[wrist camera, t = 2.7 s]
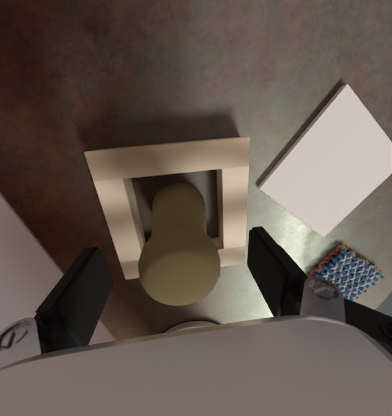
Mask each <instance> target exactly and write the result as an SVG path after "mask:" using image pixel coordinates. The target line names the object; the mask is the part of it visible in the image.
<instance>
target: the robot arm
mask: <svg viewBox="0 0 392 416" xmlns="http://www.w3.org/2000/svg"><path fill="white" fill-rule="evenodd" d="M247 264H248V268H249V270H250V272H251V274H252V276H253V278H254V280H255V281H256V283H257V285H258V287H259V289H260V291H261V293H262V295H263V297H264V299H265V301H266V303H267V305H268V307H269V309H270V310H271V312H272V314H273V316H274V317H270V318H262V319H255V320H247V321H241V322H234V323H227V324H220V325H217V324H215V323H211V322H207V321H191V322H185V323H182V324H178V325H176V326H174V327H172V328H170V329H169V330H167V331H166V332H165V333H162V334H155V335H149V336H142V337H136V338H130V339H124V340H118V341H112V342H105V343H100V344H93V345H88V344H89V342H90V340H91V337H92V335H93V332H94V330H95V328H96V325H97V323H98V320H99V318H100V315H101V313H102V310H103V308H104V306H105V303H106V301H107V298H108V296H109V293H110V291H111V289H112V286H113V280H112V278H111V275H110V273H109V270H108V268H107V265H106V262H105V260H104V257H103V255H102V252H101V250H100V249H98V248H97V247H89V248H85V249H84V250H83V251H82V252H81V254H80V255H79V256H78V257H77V259H76V260H75V261H74V263H73V264H72V265H71V266H70V268H69V269H68V270H67V272H66V273H65V274H64V275H63V277H62V278H61V279H60V281H59V282H58V283H57V285H56V286H55V287H54V288H53V290H52V291H51V292H50V294H49V295H48V296H47V297H46V299H45V300H44V301H43V302H42V304H41V305H40V306H39V308H38V309H37V310H36V313H37V314H36V316H35V317H34V318H24V319H21V320H18V321H16V322H14V323H12V324H11V325H9V326H8V327H6V328H5V329H4V330H3V331H1V332H0V416H392V317H390V316H388V315H385V314H383V313H380V312H378V311H376V310H373V309H371V308H368V307H366V306H363V305H361V304H358V303H356V302H353V301H351V300H349V299H346V298H344V297H343V294H342V292H341V290H340V289H339V288H338V287H337V286H336V285H335V284H334V283H332V282H330V281H328V280H326V279H324V278H320V277H310V278H309V277H308V276H307V275H306V274H305V273H304V272H303V271H302V269H301V268H300V267H299V266H298V265H297V264H296V263H295V262H294V260H293V259H292V258H291V257H290V256H289V255H288V254H287V253H286V251H285V250H284V249H283V248H282V247H281V246H279V245H278V244H277V243H276V242H275V241H274V240H273V238H272V237H271V236H270V235H269V234H268V233H267V232H266V230H265V229H264V228H263V227H253V228H252V230H250V231H249V243H248V259H247Z"/></svg>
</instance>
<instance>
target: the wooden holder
mask: <svg viewBox="0 0 392 416" xmlns="http://www.w3.org/2000/svg"><path fill="white" fill-rule="evenodd" d="M249 148H250V137H232V138H221V139H210V140H199V141H188V142H177V143H166V144H155V145H144V146H132V147H121V148H110V149H99V150H93V151H87V152H84V154H85V157H86V160H87V163H88V166H89V169H90V172H91V175H92V178H93V181H94V184H95V187H96V190H97V193H98V197H99V200H100V203H101V206H102V209H103V212H104V215H105V218H106V221H107V224H108V227H109V230H110V233H111V236H112V240H113V243H114V246H115V249H116V252H117V255H118V258H119V261H120V264H121V267H122V270H123V273H124V276H125V279H134V278H139V272H138V262H139V258H140V254H141V251H142V248H143V246H144V245H145V244H146V240H145V236H144V231H143V227H142V223H141V219H140V214H139V210H138V206H137V202H136V197H135V193H134V189H133V185H132V180H131V178H136V177H146V176H156V175H166V174H176V173H185V172H195V171H205V170H215V169H217V194H218V225H219V237H214V238H211V240H212V241H213V242H214V243H215V245H216V247H217V250H218V253H219V256H220V260H221V265H220V267H222V266H230V265H237V264H245V244H246V220H247V196H248V172H249Z"/></svg>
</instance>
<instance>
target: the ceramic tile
mask: <svg viewBox="0 0 392 416" xmlns="http://www.w3.org/2000/svg"><path fill="white" fill-rule="evenodd" d="M391 173H392V142H391V141H390V139H389V138H388V137H387V135H386V134H385V133H384V131H383V130H382V129H381V128H380V126H379V125H378V124H377V122H376V121H375V120H374V118H373V117H372V116H371V114H370V113H369V112H368V110H367V109H366V108H365V106H364V105H363V104H362V102H361V101H360V100H359V98H358V97H357V96H356V95H355V93H354V92H353V91H352V89H351V88H350V87H349V85H348V84H346V85H343V86H341V87H340V89H339V90H338V91H337V92H336V93H335V95H334V96H333V97H332V98H331V99H330V101H329V102H328V103H327V104H326V105H325V107H324V108H323V109H322V110H321V111H320V113H319V114H318V115H317V116H316V117H315V119H314V120H313V121H312V122H311V123H310V125H309V126H308V127H307V128H306V129H305V131H304V132H303V133H302V134H301V135H300V137H299V138H298V139H297V140H296V141H295V143H294V144H293V145H292V146H291V147H290V149H289V150H288V151H287V152H286V153H285V155H284V156H283V157H282V158H281V159H280V161H279V162H278V163H277V164H276V165H275V167H274V168H273V169H272V170H271V171H270V173H269V174H268V175H267V176H266V177H265V179H264V180H263V181H262V182H261V183H260V185H259V186H258V187H257V188H259V189H260V190H261V191H263V192H264V193H265V194H267V195H268V196H269V197H271V198H272V199H273V200H274V201H276V202H277V203H278V204H280V205H281V206H282V207H284V208H285V209H286V210H288V211H289V212H290V213H292V214H293V215H294V216H295V217H297V218H298V219H299V220H301V221H302V222H303V223H305V224H306V225H307V226H309V227H310V228H311V229H312V230H314V231H315V232H316V233H318V234H319V235H320V236H322V237H324V236H325V235H326V234H328V233H329V232H330V231H331V230H332V229H333V228H334V227H335V226H336V225H337V224H338V223H339V222H340V221H341V220H342V219H344V218H345V217H346V216H347V215H348V214H349V213H350V212H351V211H352V210H353V209H354V208H355V207H356V206H357V205H358V204H359V203H361V202H362V201H363V200H364V199H365V198H366V197H367V196H368V195H369V194H370V193H371V192H372V191H373V190H374V189H375V188H377V187H378V186H379V185H380V184H381V183H382V182H383V181H384V180H385V179H386V178H387V177H388V176H389V175H390V174H391Z"/></svg>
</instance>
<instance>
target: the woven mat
mask: <svg viewBox="0 0 392 416" xmlns="http://www.w3.org/2000/svg"><path fill="white" fill-rule="evenodd" d="M343 249H344V250H343ZM348 249H349V248H347V247H346V248H345V245H339V246H338V247H336V248H335V249H334V250H332V251H331V253H330V254H329V255H328V256H327V257H326V258H325V259H324V260H323V261H322V262H321V263H320V264H319V267H318V266H316V267H315V268H316V269H313V270H312V271H311V272H310V273H309V274H308V275H307V276H308V277H309V278H310V277H320V278H324V279H326V280H328V281H330V282H332V283H334V284H335V285H336V286H337V287H338V288H339V289H340V290H341V292H342V294H343V297H344V298H346V299H349V300H351V301H352V300H353V299H352V298H356V299H357V298H358V297H357V294H359V295H360V294H361V292H360V291H364V292H366V290H365V287H367V288H368V287H369V286H368V285H367V284H372V285H375V283H373V282H372V279H374V280H375V281H377V280H378V279H377V278H375V277H377V276H379V277H381V278H384V277H383V276H382V275H381V271H382V270H377V267H375V265H369V266H368V264H369V263H370V262H368V261H367V260H364V259H360V258H359V257H357V258H355V257H356V256H355V252H354V251H349V252H346V251H347V250H348ZM338 251H341V252H340V253H339V254H338V253H337V252H338ZM343 254H345V255H344V256H342V255H343ZM333 255H336V257H335V258H334V257H332V256H333ZM339 258H340V260H338V259H339ZM329 259H331V260H332V262H331V261H328V260H329ZM352 260H354V261H353V262H351V261H352ZM325 263H328V264H327V265H324V264H325ZM347 264H349V265H348V266H347ZM360 266H361V267H360ZM343 268H345V269H344V270H343ZM357 269H358V270H357ZM326 270H327V272H326ZM356 270H357V271H356ZM378 272H379V273H378ZM351 273H353V274H351ZM313 274H314V275H315V276H312V275H313ZM322 274H323V275H322ZM343 274H344V275H343ZM371 274H372V275H371ZM375 274H376V275H375ZM364 275H365V276H364ZM360 278H362V279H360ZM355 282H356V283H355ZM362 286H363V287H362ZM358 289H360V290H358ZM351 291H352V292H351ZM350 295H351V296H352V297H351V296H350Z"/></svg>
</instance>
